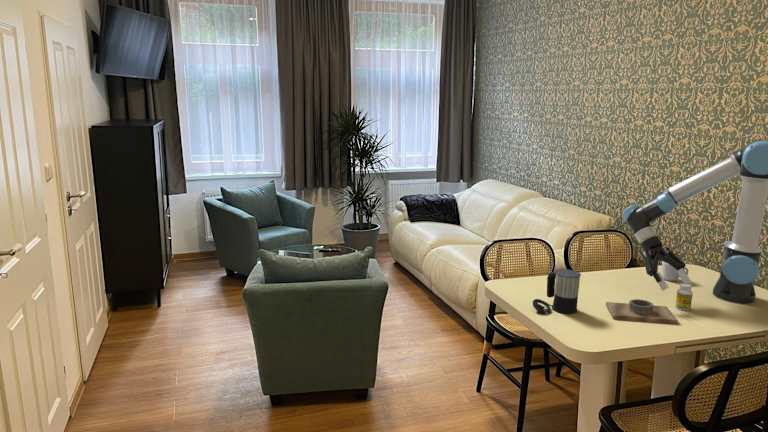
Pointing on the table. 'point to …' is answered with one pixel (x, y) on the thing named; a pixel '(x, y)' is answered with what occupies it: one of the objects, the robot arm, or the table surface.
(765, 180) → the robot arm
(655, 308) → the collar board
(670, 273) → the cup
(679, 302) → the supplement bottle
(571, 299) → the milk frother
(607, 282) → the table surface
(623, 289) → the table surface
